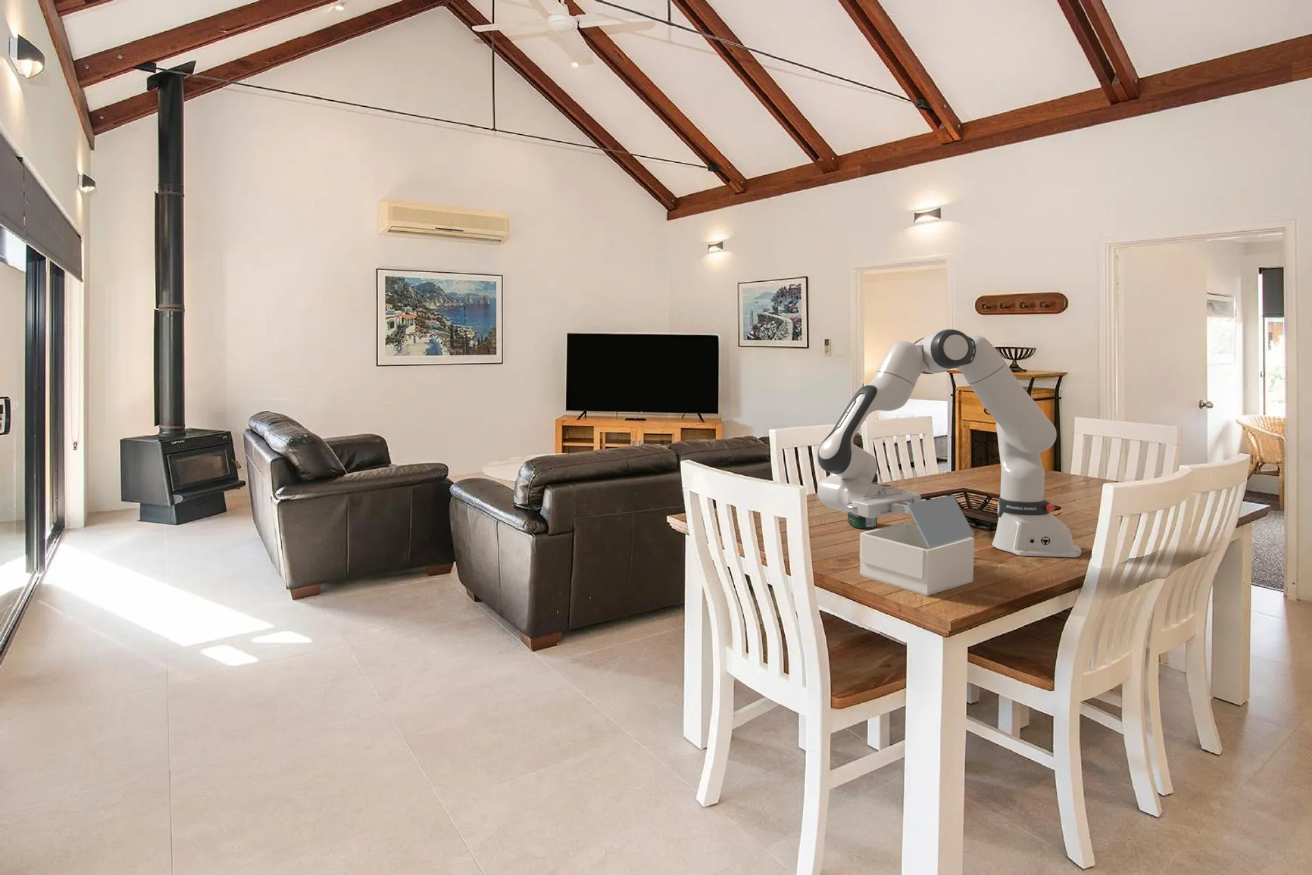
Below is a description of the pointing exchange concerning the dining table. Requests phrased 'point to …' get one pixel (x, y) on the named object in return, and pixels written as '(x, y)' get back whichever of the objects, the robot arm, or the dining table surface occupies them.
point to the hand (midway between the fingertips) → (913, 509)
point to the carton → (915, 560)
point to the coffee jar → (863, 521)
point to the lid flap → (940, 521)
